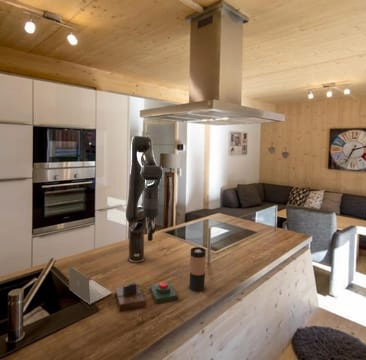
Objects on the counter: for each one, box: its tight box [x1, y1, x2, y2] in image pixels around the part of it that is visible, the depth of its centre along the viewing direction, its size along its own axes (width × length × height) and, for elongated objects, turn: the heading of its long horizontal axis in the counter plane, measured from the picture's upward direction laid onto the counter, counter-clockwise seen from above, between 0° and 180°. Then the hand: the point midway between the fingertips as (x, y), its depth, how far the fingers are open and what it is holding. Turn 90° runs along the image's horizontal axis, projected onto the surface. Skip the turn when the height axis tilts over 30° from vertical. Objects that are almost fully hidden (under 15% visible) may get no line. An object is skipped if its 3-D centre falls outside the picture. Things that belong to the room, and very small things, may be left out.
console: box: [115, 284, 146, 312], centre depth 130 cm, size 14×11×3 cm
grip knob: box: [122, 282, 138, 297], centre depth 129 cm, size 6×2×5 cm, turn 122°
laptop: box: [68, 265, 113, 305], centre depth 135 cm, size 18×12×13 cm
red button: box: [159, 281, 168, 289], centre depth 134 cm, size 4×4×2 cm
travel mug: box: [189, 246, 207, 292], centre depth 140 cm, size 8×8×20 cm
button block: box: [149, 282, 178, 304], centre depth 135 cm, size 12×10×4 cm
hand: (149, 240), depth 139 cm, fingers closed
